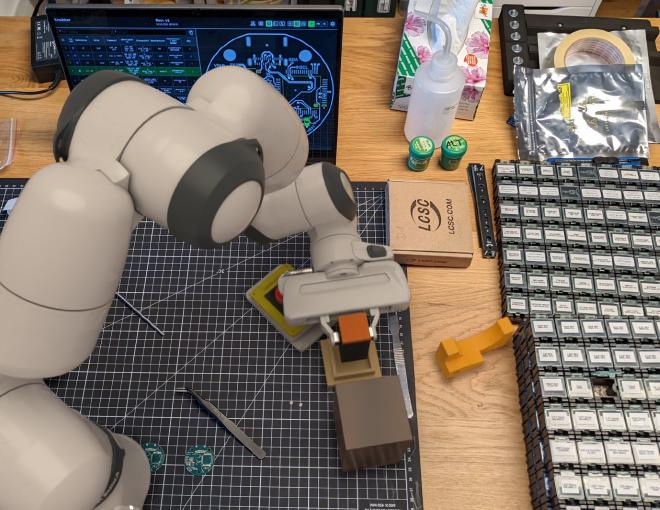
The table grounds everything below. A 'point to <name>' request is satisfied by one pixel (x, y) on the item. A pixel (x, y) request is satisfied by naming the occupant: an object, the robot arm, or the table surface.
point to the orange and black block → (354, 337)
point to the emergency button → (282, 310)
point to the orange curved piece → (472, 348)
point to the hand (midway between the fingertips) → (354, 342)
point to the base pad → (348, 365)
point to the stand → (371, 423)
